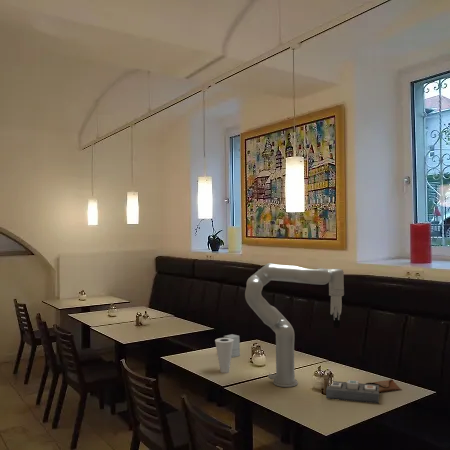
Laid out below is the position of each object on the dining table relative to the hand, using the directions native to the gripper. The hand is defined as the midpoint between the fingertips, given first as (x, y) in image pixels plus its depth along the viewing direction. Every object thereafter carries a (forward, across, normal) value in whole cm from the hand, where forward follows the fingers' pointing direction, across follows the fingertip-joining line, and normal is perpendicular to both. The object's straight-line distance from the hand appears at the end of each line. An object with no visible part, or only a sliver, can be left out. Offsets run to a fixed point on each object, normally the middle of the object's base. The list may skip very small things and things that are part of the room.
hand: (336, 327), depth 262 cm
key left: (+28, +18, +1) cm, 33 cm away
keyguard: (+29, +18, +9) cm, 35 cm away
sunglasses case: (+30, +4, +23) cm, 38 cm away
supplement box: (+29, -36, -69) cm, 83 cm away
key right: (+28, +18, +17) cm, 37 cm away
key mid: (+26, +18, +9) cm, 33 cm away
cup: (+29, -3, -63) cm, 70 cm away
